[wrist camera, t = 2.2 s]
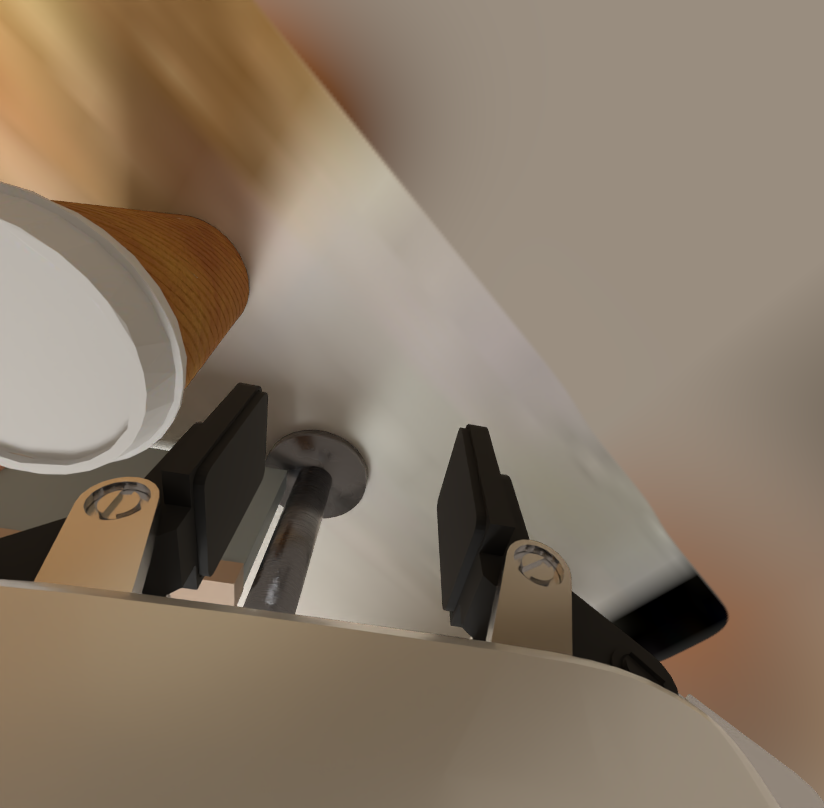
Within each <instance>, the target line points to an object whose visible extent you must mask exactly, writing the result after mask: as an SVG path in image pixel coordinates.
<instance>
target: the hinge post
mask: <svg viewBox="0 0 824 808" xmlns="http://www.w3.org/2000/svg"><path fill="white" fill-rule="evenodd" d="M265 467H269V468H275V469H281V470H287V481H286V489H285V491H284V494H283V496H282V498H281V501H280V503H279V504H280V505H281V506H283V507H284V509H283V511H282V514H281V516H280V519H279V521H278V523H277V526H276V528H275V531H274V533H273V536H272V538H271V540H270V543H269V545H268V548H267V550H266V553H265V555H264V557H263V560H262V562H261V565H260V567H259V570H258V572H257V574H256V577H255V579H254V582H253V584H252V587H251V589H250V591H249V594H248V596H247V599H246V601H245V604H244V606H243V607H244V608H252V609H259V610H266V611H274V612H281V613H288V614H295V612H296V608H297V605H298V601H299V598H300V594H301V591H302V587H303V584H304V580H305V577H306V573H307V570H308V566H309V563H310V559H311V556H312V552H313V549H314V545H315V542H316V538H317V535H318V531H319V528H320V524H321V521H322V518H331V517H336V516H339V515H342V514H344V513H346V512H348V511H350V510H351V509H352V508H354V507H355V506H356V505H357V504H358V503H359V501H360V500H361V499H362V497H363V494H364V492H365V488H366V482H367V469H366V465H365V462H364V460H363V458H362V456H361V455H360V453H359V452H358V451H357V450H356V449H355V448H354V447H353V446H352V445H351V444H350V443H349V442H347V441H346V440H344V439H342V438H341V437H339V436H336V435H334V434H331V433H328V432H323V431H316V430H306V431H299V432H295V433H292V434H289V435H287V436H285V437H284V438H282V439H281V440H279V441H278V442H277V443H276V444H275V445H274V447H273V448H272V449H271V451H270V453H269V455H268V457H267V459H266V461H265Z"/></svg>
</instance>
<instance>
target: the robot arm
mask: <svg viewBox="0 0 824 808" xmlns="http://www.w3.org/2000/svg"><path fill="white" fill-rule="evenodd" d="M267 406H268V395H267V393H265V392H262V389H261V387H260V386H255V385H250V384H244V383H238V384H237V385H236V386H235V388H234V389H233V390H232V391H231V392H230V393H229V394H228V395H227V397H226V398H225V399H224V400H223V401H222V402H221V403H220V404H219V405H218V407H217V408H216V409H215V410H214V411H213V412H212V413H211V414H210V416H209V417H208V418H207V419H206V420H205V421H204V422H203V423H200V422H198V423H195V424H194V425H193V426H192V427H191V428H190V429H189V430H188V431H187V432H186V433H185V434H184V435H183V437H182V438H181V439H180V440H179V441H178V442H177V443H176V444H175V445H174V446H173V447H172V448H171V450H170V451H169V452H168V453H167V454H166V455H165V456H164V457H163V458H162V459H161V460H160V461H159V463H158V464H157V465H156V466H155V467H154V468H153V469H152V470H151V471H150V472H149V473H148V474H147V476H146V477H145V478H144V479H143V478H140V477H121V478H114V479H110V480H107V481H103V482H101V483H99V484H96V485H94V486H92V487H90V488H89V489H88V490H86V491H85V492H83V493H82V494H81V495H80V496H79V498H78V499H77V500H76V501H75V503H74V505H73V507H72V509H71V511H70V513H69V515H68V517H66V518H63V519H60V520H56V521H53V522H50V523H47V524H44V525H40V526H37V527H34V528H31V529H27V530H24V531H21V532H18V533H14V534H11V535H8V536H5V537H2V538H0V808H824V802H823V800H822V799H821V798H820V797H819V796H818V794H817V793H816V792H815V791H814V790H813V788H812V787H811V786H809V785H808V784H807V783H806V782H805V781H804V780H803V779H802V778H800V777H799V776H798V775H797V774H796V773H795V772H793V771H792V770H791V769H789V768H788V767H787V766H785V765H784V764H782V763H781V762H780V761H779V760H777V759H776V758H775V757H773V756H772V755H771V754H769V753H768V752H766V751H765V750H764V749H762V748H761V747H760V746H758V745H757V744H755V743H754V742H753V741H752V740H750V739H749V738H748V737H746V736H745V735H744V734H742V733H741V732H740V731H738V730H737V729H736V728H734V727H733V726H732V725H730V724H729V723H728V722H726V721H725V720H724V719H722V718H721V717H720V716H718V715H717V714H716V713H714V712H713V711H712V710H710V709H709V708H707V707H706V706H705V705H703V704H702V703H701V702H700V701H698V700H697V699H696V698H694V697H693V696H692V695H690V694H689V695H688V696H687V697H686V698H684V697H683V696H681V695H680V694H679V693H678V691H677V687H676V685H675V683H674V681H673V679H672V677H671V676H670V674H669V673H668V672H667V670H666V669H665V668H664V666H663V665H662V664H661V663H660V662H659V661H658V660H657V659H656V658H655V657H654V656H653V655H652V654H650V653H649V652H648V651H647V650H645V649H644V648H643V647H641V646H640V645H639V644H638V643H636V642H635V641H634V640H633V639H631V638H630V637H629V636H628V635H626V634H625V633H624V632H623V631H621V630H620V629H619V628H618V627H616V626H615V625H614V624H613V623H611V622H610V621H609V620H608V619H606V618H605V617H604V616H602V615H601V614H600V613H599V612H597V611H596V610H595V609H594V608H592V607H591V606H590V605H589V604H587V603H586V602H585V601H584V600H582V599H581V598H580V597H579V596H577V595H576V594H575V593H574V592H572V583H571V573H570V569H569V567H568V566H567V564H566V562H565V561H564V559H563V558H562V557H561V556H560V555H559V554H558V553H557V552H556V551H554V550H553V549H552V548H550V547H548V546H546V545H545V544H543V543H541V542H537V541H533V540H529V537H528V533H527V530H526V527H525V524H524V520H523V517H522V514H521V511H520V508H519V504H518V501H517V498H516V495H515V491H514V488H513V485H512V482H511V479H510V477H509V476H508V475H503V474H500V471H499V467H498V463H497V460H496V456H495V453H494V449H493V446H492V442H491V439H490V435H489V431H488V428H487V427H482V426H476V425H471V424H468V425H467V426H466V429H465V428H460V429H459V431H458V434H457V438H456V441H455V444H454V448H453V451H452V454H451V458H450V461H449V464H448V468H447V471H446V474H445V478H444V481H443V484H442V488H441V491H440V495H439V498H438V504H437V518H438V535H439V553H440V571H441V588H442V605H443V610H446V611H450V624H451V626H457V627H462V628H463V629H464V630H465V631H466V632H467V633H468V634H469V635H470V638H469V639H466V638H459V637H452V636H445V635H438V634H431V633H424V632H417V631H410V630H403V629H396V628H389V627H382V626H375V625H368V624H361V623H354V622H346V621H339V620H332V619H325V618H317V617H310V616H303V615H296V614H288V613H281V612H274V611H266V610H259V609H252V608H244V607H237V606H229V605H222V604H214V603H207V602H199V601H191V600H184V599H176V598H171V593H172V592H174V591H176V590H179V589H181V588H185V589H193V590H197V589H198V588H199V586H200V584H201V582H202V580H203V578H204V577H205V576H208V577H211V576H212V575H213V574H214V572H215V570H216V568H217V566H218V564H219V562H220V561H221V559H222V557H223V555H224V553H225V551H226V549H227V547H228V545H229V543H230V541H231V539H232V538H233V536H234V534H235V532H236V530H237V528H238V526H239V524H240V522H241V520H242V518H243V516H244V515H245V513H246V511H247V509H248V507H249V505H250V503H251V501H252V499H253V497H254V495H255V493H256V492H257V490H258V488H259V486H260V484H261V482H262V480H263V477H264V472H265V457H266V432H267Z"/></svg>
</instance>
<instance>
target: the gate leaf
mask: <svg viewBox="0 0 824 808" xmlns="http://www.w3.org/2000/svg"><path fill="white" fill-rule="evenodd" d="M168 452H169V451H166V450H160V449H154V448H148V449H146V450H145V451H142V452H140V453H138V454H136V455H134V456H132V457H130V458H127V459H123V460H119V461H115V462H111V463H108V464H105V465H103V466H100V467H98V468H95V469H93V470H90V471H85V472H78V473H72V474H66V475H64V474H39V473H33V472H28V471H22V470H16V469H11V468H7V467H4V466H1V465H0V538H2V537H5V536H8V535H11V534H14V533H18V532H21V531H24V530H27V529H31V528H34V527H37V526H40V525H44V524H47V523H50V522H53V521H56V520H60V519H63V518H66V517H68V515H69V513H70V511H71V509H72V507H73V505H74V503H75V501H76V500H77V499H78V498H79V496H80V495H81V494H82V493H83V492H85V491H86V490H88V489H89V488H90V487H92V486H94V485H96V484H99V483H101V482H103V481H107V480H110V479H114V478H121V477H140V478H143V479H144V478H145V477H146V476H147V474H148V473H149V472H150V471H151V470H152V469H153V468H154V467H155V466H156V465H157V464H158V463H159V461H160V460H161V459H162V458H163V457H164V456H165V455H166V454H167V453H168ZM286 481H287V470H281V469H275V468H269V467H265V472H264V477H263V480H262V482H261V484H260V486H259V488H258V490H257V492H256V493H255V495H254V497H253V499H252V501H251V503H250V505H249V507H248V509H247V511H246V513H245V515H244V516H243V518H242V520H241V522H240V524H239V526H238V528H237V530H236V532H235V534H234V536H233V538H232V539H231V541H230V543H229V545H228V547H227V549H226V551H225V553H224V555H223V557H222V559H221V561H220V562H219V564H218V566H217V568H216V570H215V572H214V574H213V575H212V576H211V577H208V576H205V577H204V578H203V580H202V582H201V584H200V586H199V588H198V589H197V590H193V589H185V588H181V589H179V590H176V591H174V592H172V593H171V598H176V599H184V600H191V601H199V602H207V603H214V604H222V605H229V606H237V603H238V601H239V599H240V596H241V594H242V592H243V586H244V584H245V582H246V579H247V577H248V575H249V573H250V570H251V568H252V566H253V563H254V561H255V559H256V556H257V554H258V552H259V549H260V547H261V545H262V542H263V540H264V538H265V535H266V533H267V531H268V528H269V526H270V524H271V522H272V519H273V517H274V515H275V512H276V510H277V508H278V505H279V503H280V501H281V498H282V496H283V494H284V491H285V489H286Z"/></svg>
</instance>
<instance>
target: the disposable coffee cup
mask: <svg viewBox="0 0 824 808" xmlns="http://www.w3.org/2000/svg"><path fill="white" fill-rule="evenodd" d="M248 295H249V283H248V275H247V271H246V268H245V266H244V263H243V261H242V259H241V256H240V255H239V253H238V252H237V250H236V249H235V247H234V246H233V244H232V243H231V242H230V241H229V240H228V239H227V237H226V236H224V235H223V234H222V233H221V232H220V231H218V230H217V229H216V228H215V227H213V226H211V225H210V224H208V223H206V222H204V221H202V220H200V219H197V218H194V217H191V216H185V215H180V214H168V213H159V212H150V211H141V210H134V209H125V208H116V207H107V206H99V205H90V204H81V203H73V202H64V201H54V200H49V199H47V198H45V197H43V196H41V195H39V194H37V193H35V192H33V191H30V190H27V189H23V188H20V187H17V186H13V185H10V184H7V183H3V182H0V465H1V466H4V467H7V468H11V469H16V470H22V471H28V472H33V473H39V474H64V475H66V474H72V473H78V472H85V471H90V470H93V469H95V468H98V467H100V466H103V465H105V464H108V463H111V462H115V461H119V460H123V459H127V458H130V457H132V456H134V455H136V454H138V453H140V452H142V451H145V450H146V449H148V448H149V447H150V446H151V445H153V444H154V443H155V442H157V441H158V440H159V439H160V438H162V436H163V435H164V434H165V432H166V431H167V430H168V428H169V427H170V426H171V424H172V423H173V422H174V420H175V418H176V415H177V413H178V411H179V409H180V407H181V404H182V398H183V393H184V390H185V388H186V387H187V386H188V384H189V383H190V382H191V380H192V379H193V378H194V376H195V375H196V374H197V372H198V371H199V370H200V369H201V367H202V366H203V365H204V363H205V362H206V360H207V359H208V357H209V356H210V355H211V354H212V352H213V351H214V350H215V348H216V347H217V346H218V344H219V343H220V342H221V340H222V339H223V338H224V336H225V335H226V334H227V332H228V331H229V330H230V328H231V327H232V325H233V324H234V323H235V322H236V320H237V319H238V318H239V317H240V315H241V314H242V313H243V311H244V309H245V306H246V304H247V300H248Z"/></svg>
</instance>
